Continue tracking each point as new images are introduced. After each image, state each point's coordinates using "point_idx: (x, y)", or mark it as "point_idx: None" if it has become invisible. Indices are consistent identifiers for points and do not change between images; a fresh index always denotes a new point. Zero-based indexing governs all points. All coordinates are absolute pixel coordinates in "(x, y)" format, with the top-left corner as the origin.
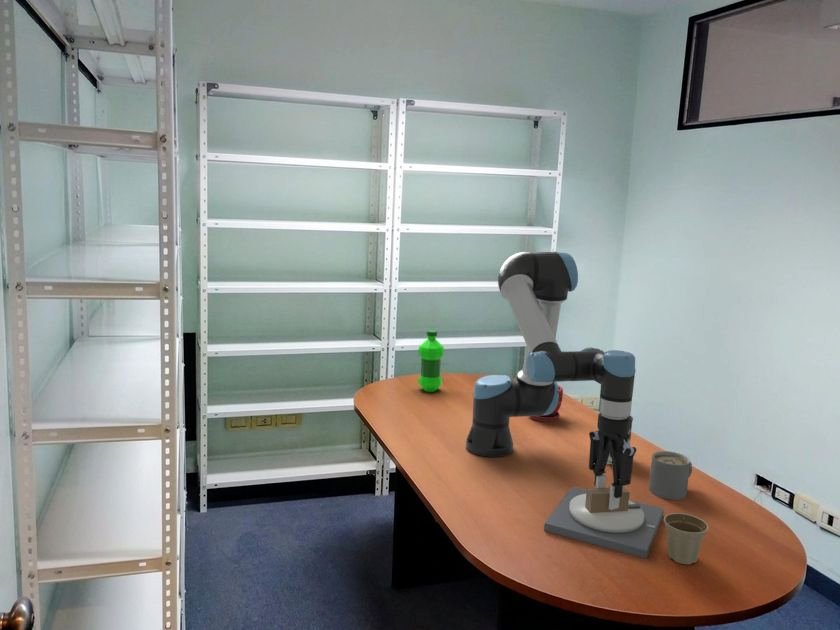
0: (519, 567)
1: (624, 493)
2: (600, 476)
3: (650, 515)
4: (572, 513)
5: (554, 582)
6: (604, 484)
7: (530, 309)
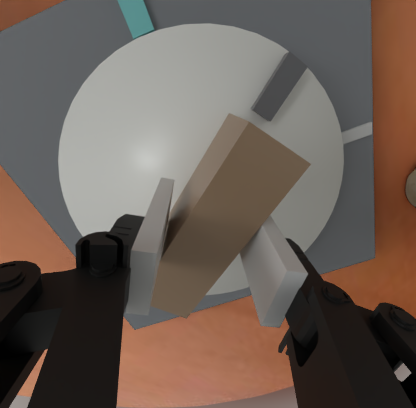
0: (202, 390)
1: (285, 188)
2: (143, 297)
3: (329, 34)
4: None
5: (259, 381)
6: (164, 225)
7: None
